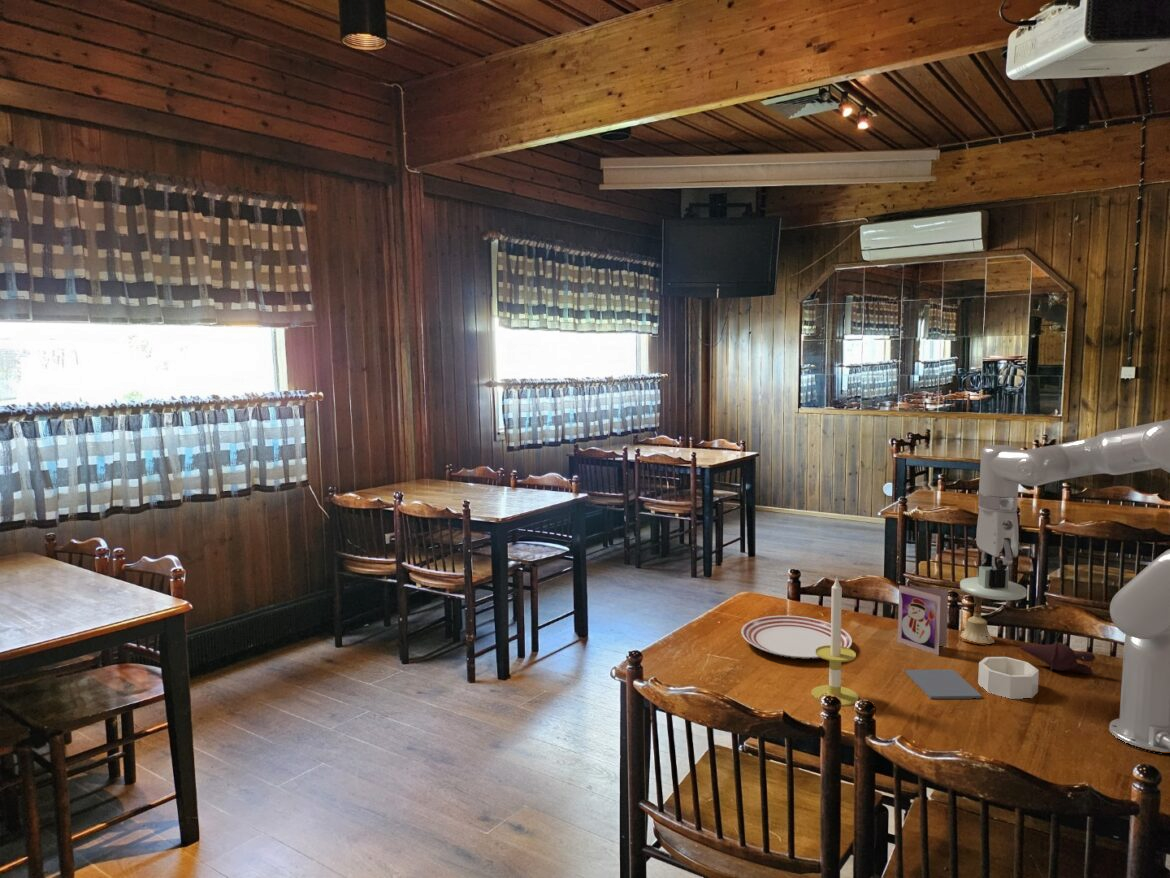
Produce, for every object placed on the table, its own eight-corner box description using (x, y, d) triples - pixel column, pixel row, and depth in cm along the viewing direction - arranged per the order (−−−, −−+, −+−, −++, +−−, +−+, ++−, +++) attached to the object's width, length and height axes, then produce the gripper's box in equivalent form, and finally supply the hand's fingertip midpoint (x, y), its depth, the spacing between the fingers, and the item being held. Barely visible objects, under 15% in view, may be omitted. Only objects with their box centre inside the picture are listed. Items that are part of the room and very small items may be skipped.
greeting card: (895, 642, 201) (897, 586, 200) (912, 636, 205) (914, 580, 204) (936, 656, 192) (938, 597, 190) (954, 650, 196) (956, 591, 194)
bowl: (1045, 698, 168) (1047, 676, 168) (995, 699, 168) (996, 676, 168) (1019, 677, 179) (1019, 656, 178) (971, 678, 179) (972, 657, 179)
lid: (1038, 600, 165) (1040, 577, 165) (975, 600, 166) (977, 577, 165) (1008, 581, 178) (1009, 560, 178) (950, 581, 179) (951, 559, 178)
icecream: (1019, 643, 183) (1095, 661, 175) (1023, 626, 189) (1097, 643, 180) (1016, 667, 185) (1090, 687, 177) (1019, 650, 191) (1092, 668, 183)
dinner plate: (875, 656, 194) (876, 643, 193) (783, 674, 184) (783, 661, 183) (805, 621, 219) (806, 609, 219) (721, 636, 209) (721, 624, 209)
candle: (827, 709, 165) (830, 584, 162) (802, 689, 175) (803, 572, 172) (868, 702, 168) (871, 580, 165) (841, 683, 178) (843, 567, 175)
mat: (982, 698, 169) (982, 695, 169) (930, 698, 169) (930, 696, 169) (952, 671, 183) (952, 669, 183) (905, 672, 183) (905, 669, 183)
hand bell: (963, 631, 208) (965, 573, 206) (997, 638, 203) (1000, 578, 201) (954, 641, 202) (957, 580, 200) (990, 648, 197) (992, 586, 195)
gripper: (1035, 510, 161) (1029, 596, 164) (997, 495, 178) (992, 573, 180) (998, 510, 162) (993, 596, 164) (963, 495, 178) (959, 573, 180)
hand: (992, 583), depth 172 cm, fingers closed on lid, 3 cm apart
